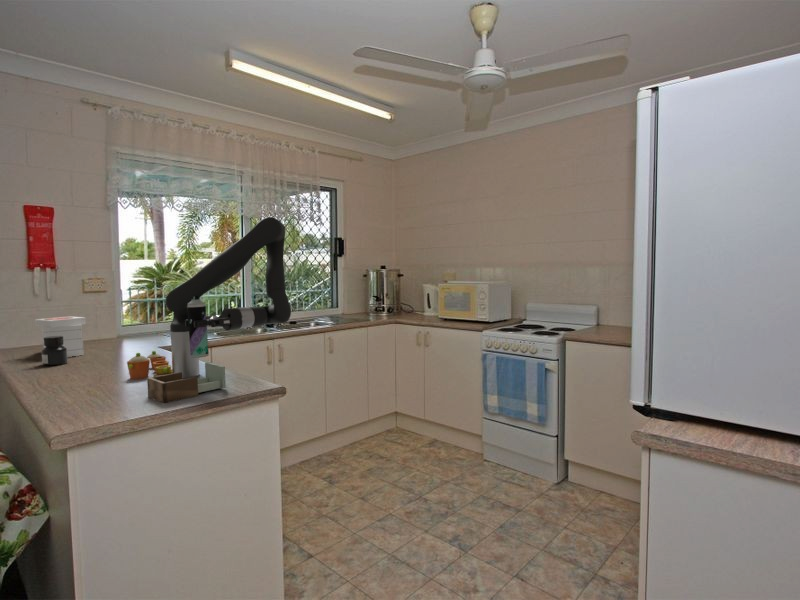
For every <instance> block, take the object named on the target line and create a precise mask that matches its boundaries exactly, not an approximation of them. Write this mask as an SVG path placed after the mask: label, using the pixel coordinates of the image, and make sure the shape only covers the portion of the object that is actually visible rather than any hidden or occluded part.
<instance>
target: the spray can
mask: <svg viewBox="0 0 800 600" xmlns="http://www.w3.org/2000/svg"><path fill="white" fill-rule="evenodd" d="M206 305H207V304H206V302H205V301H203V300H202V298H201V297H200V298H199V296H193V300H192V301H191V302H189V303H188V306H187V309H188V324H189V339H190V355H191V358H199V359H200V358H206V357H208V356H210V355H209V354H210V353H209V339H208V327H207V326H206V327H199V328H195V327H194V321H198V320H206V316H207V307H206Z"/></svg>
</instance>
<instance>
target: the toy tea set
mask: <svg viewBox="0 0 800 600" xmlns="http://www.w3.org/2000/svg"><path fill="white" fill-rule="evenodd" d="M166 358H167V357H166V356H165V355H163V356H161V355H160V354H158V353H157V352H156V350H153V351H151V354H149V355H148V356H147V357H146V356H144V355H141V353H140V352H137V353H135V356H132V357H130V359H129V360H128V361H127V362H126V364H127V369H128V373H129V379H131V380H141V378H143V379H146V377H147V378H149V371H150V366H151V369H153V371H154V374H153V377H156V376H162V375H167V374H173V372H172V365H169V361H168V360H166ZM150 364H151V365H150ZM155 372H156V373H155Z"/></svg>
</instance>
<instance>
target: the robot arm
mask: <svg viewBox="0 0 800 600" xmlns="http://www.w3.org/2000/svg"><path fill="white" fill-rule="evenodd" d="M285 237H286V229H285V226H284V224H283V223H282V222H281V221H280V220H279V219H278V218H276V217H274V216H267V217H264V218H262V219H260V220H259V221H258V222H257V223H256V224H255V225H254V226H253V227H252V228H251V229H250V230H249V231H248V232H247V233H246V234H245V235H243V237H241V238H240V239H239V240H237V241H236V242H234V243H232V244H231V245H229V247H227V248H226V249H225V250H223V251H221V252H220V253H219V254H218V255H216V256H215V257H213V259H211V261H209V262H208V263H207V264H206V265H204V266H203V267H202V268H201V269H200V270H199V271H198V272H196V273H195V275H194V276H192V277H191V278H189V279H188V280H186V281H185V282H183V283H182V284H180V285H179V286H177V287H175V288H173V289H171V290H170V291H169V293H167V295H166V298H165V306H166V308H167V310H169V311H170V312H173V319H172V321H171V323H170V325H169V327H170V330H169V331H170V344H171V345H170V348H171V369H172V372H173V373H179V372H182V379H186V378H192V377H198V376H199V375H200V358H191V355H190V339H189V324H188V309H187V306H188V303H189V302H191V301H192V300H193V296H199V298H200V299H201V297H202V296H204V295H205V294H206V293H208V292H210V291H211V290H213V289H215V288H217V287H218V286H221V285H222V284H223V283H225V282H227V281H228V280H230V279H232V278H233V277H234V276H235V275H236V274H238V273H239V272H241V271H242V269H244V268H245V266H246V265H247V264H248V262H250V260H251V259H252V258H253V256H254V255H255V254H256V253H257V252H259V251H260V250H261V249H263V248H266V249H265V250H266V267H265V288H266V296H267V298H269V299H271V300H272V303H273V304H269V305H262V306H251V307H250V306H247V307H245V306H243V307H242V306H241V307H240V306H239V307H231V308H224V309H223V310H221V313H220V314H212V315H206V320H198V321H194V327H195V328H199V327H206V326H207V328H221V327H222V328H223V329H224V330H225V331H235V330H243V329H246V328H250V327H257V326H258V327H259V326H262V325H268V324H284V323H285V324H286V323H287V322H288V321H289V320H290V318H291V316H292V307H291V305H290V301H289V298H288V295H287V290H286V279H285V278H286V277H285V266H284V265H285V264H284V250H285Z"/></svg>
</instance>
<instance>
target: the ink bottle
mask: <svg viewBox="0 0 800 600" xmlns="http://www.w3.org/2000/svg"><path fill="white" fill-rule="evenodd" d="M63 343H64V341H63V336H50V337H44V346H46V347H45V348H44V349H43V348H42V350H41V364H42V366H44V367H50V366H51V367H53V365H54V366H61V365H66V364H67V363H68V362H69V361H68V357H67V348H66V347H64V346H62V345H63Z"/></svg>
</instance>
